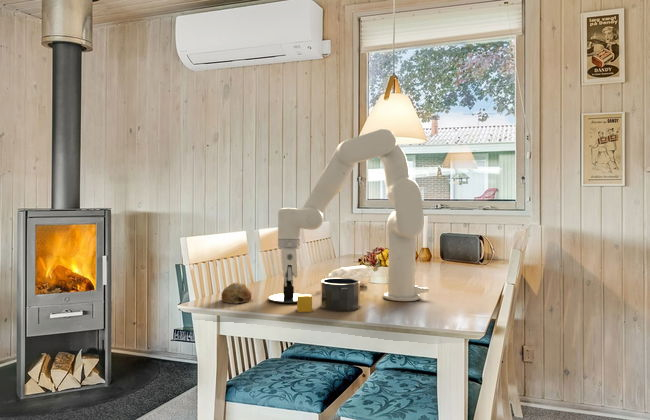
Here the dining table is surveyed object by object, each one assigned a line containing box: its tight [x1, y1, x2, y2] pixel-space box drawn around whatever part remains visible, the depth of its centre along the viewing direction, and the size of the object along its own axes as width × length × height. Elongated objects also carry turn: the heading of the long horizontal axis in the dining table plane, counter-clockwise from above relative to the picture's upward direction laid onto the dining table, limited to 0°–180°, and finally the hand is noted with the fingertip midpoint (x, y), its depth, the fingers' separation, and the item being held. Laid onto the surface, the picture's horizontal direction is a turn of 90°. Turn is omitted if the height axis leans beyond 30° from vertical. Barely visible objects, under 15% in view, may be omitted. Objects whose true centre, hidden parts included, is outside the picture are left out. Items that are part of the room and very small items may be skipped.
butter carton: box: [296, 293, 313, 313], centre depth 165 cm, size 4×4×5 cm
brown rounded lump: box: [221, 282, 252, 305], centre depth 178 cm, size 10×10×8 cm
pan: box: [320, 278, 361, 312], centre depth 170 cm, size 12×18×8 cm
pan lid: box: [268, 283, 299, 304], centre depth 180 cm, size 13×13×6 cm
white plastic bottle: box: [323, 265, 372, 287], centre depth 205 cm, size 8×19×8 cm, turn 125°
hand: (288, 296), depth 180 cm, fingers open, 3 cm apart
